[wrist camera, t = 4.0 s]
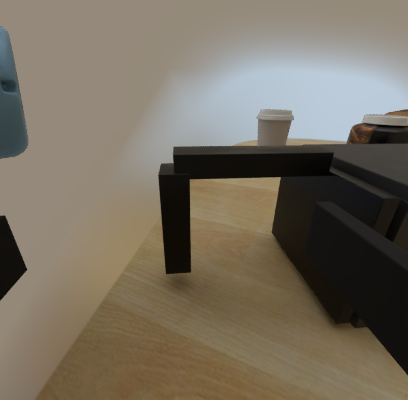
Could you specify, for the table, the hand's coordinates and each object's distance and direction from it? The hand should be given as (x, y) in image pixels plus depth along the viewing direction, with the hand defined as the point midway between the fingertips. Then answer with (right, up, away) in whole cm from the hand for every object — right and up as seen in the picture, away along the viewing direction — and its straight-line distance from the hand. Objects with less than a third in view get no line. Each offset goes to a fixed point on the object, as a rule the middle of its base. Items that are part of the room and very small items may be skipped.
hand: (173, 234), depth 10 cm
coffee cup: (+20, +11, +55) cm, 60 cm away
